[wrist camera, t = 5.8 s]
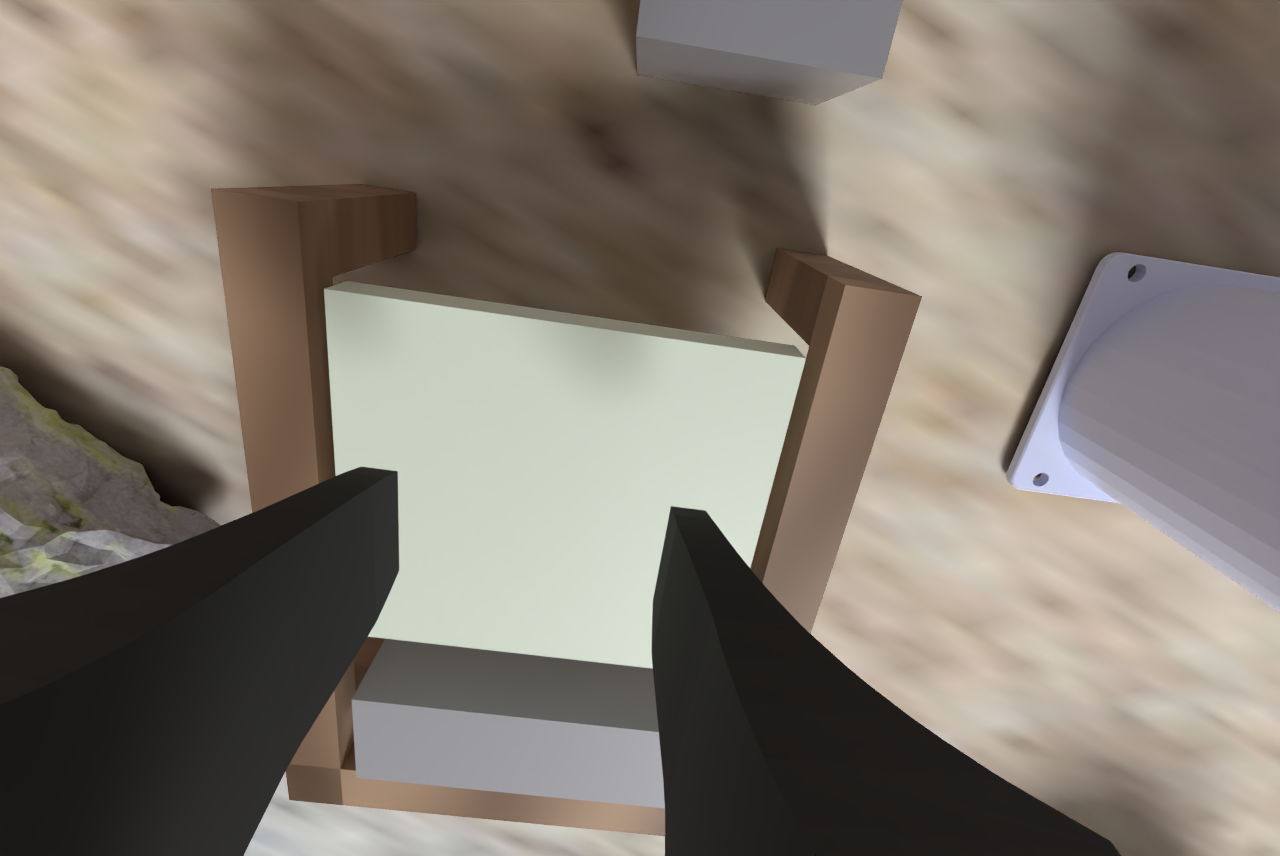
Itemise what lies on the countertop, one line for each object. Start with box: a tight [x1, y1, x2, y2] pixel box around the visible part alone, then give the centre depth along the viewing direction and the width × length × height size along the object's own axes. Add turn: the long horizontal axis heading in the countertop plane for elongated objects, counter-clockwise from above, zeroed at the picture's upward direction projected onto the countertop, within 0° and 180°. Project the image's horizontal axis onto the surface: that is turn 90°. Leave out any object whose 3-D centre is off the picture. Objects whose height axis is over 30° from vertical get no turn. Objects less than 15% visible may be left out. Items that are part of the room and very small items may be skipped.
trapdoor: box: [324, 281, 806, 808], centre depth 15 cm, size 14×10×2 cm
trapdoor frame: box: [211, 184, 922, 836], centre depth 18 cm, size 14×17×6 cm
